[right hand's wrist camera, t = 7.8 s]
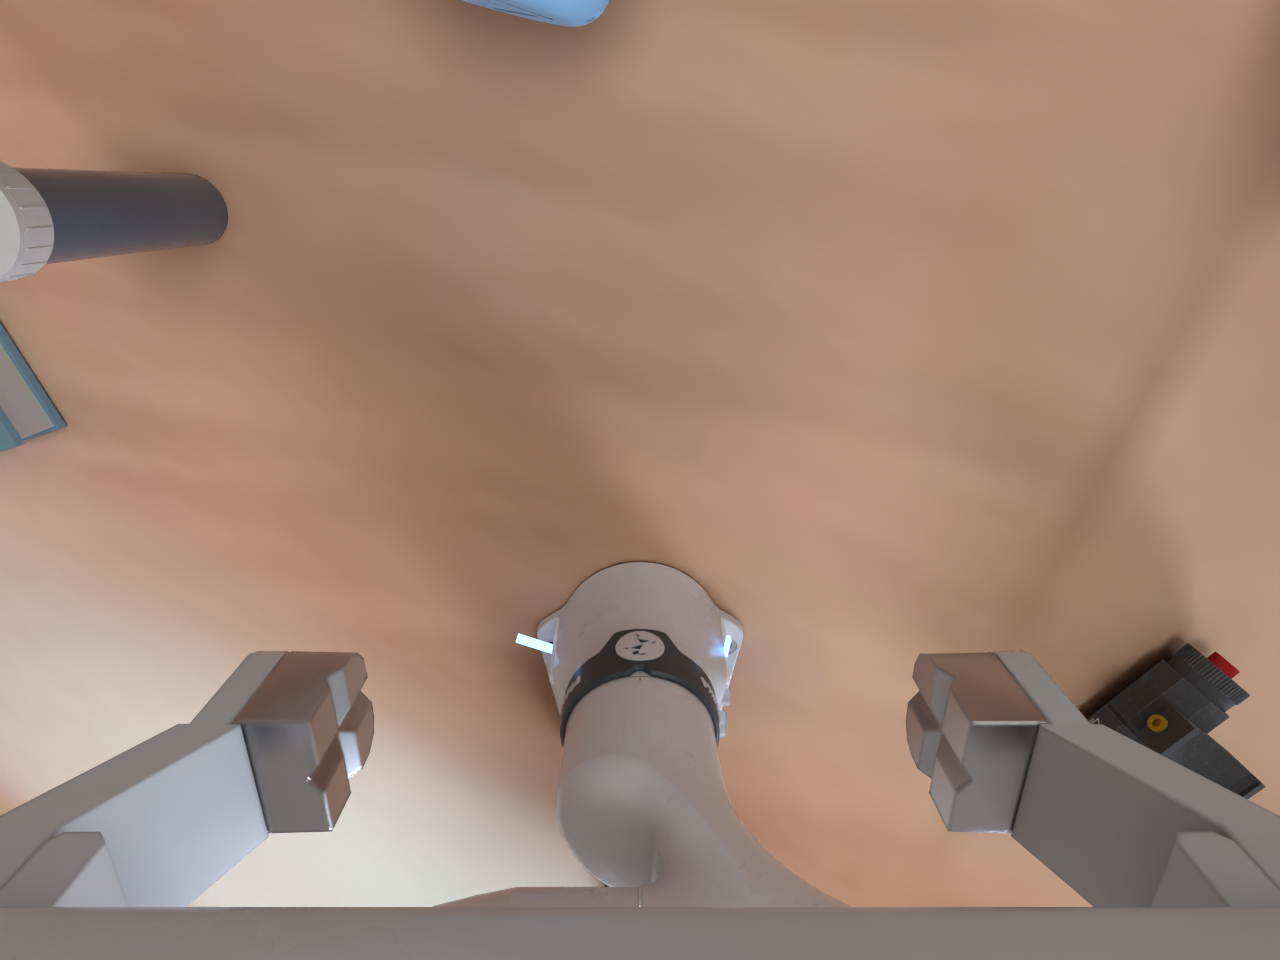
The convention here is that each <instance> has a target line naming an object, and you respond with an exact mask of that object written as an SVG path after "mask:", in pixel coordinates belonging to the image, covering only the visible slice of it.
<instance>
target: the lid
mask: <svg viewBox="0 0 1280 960" xmlns="http://www.w3.org/2000/svg"><path fill="white" fill-rule="evenodd" d="M53 245H54V227H53V222H52V218H51V215H50V212H49V210H48V207H47V205H46V203H45V202H44V200H43V198H42V197H41V195H40V194H39V192H38V191H37V190H36V188H35V187H34V186H33V185H32V184H31V183H30V182H29V181H28V180H27V179H26V178H25V177H24V176H23V175H22V174H21V173H19V172H18V171H17V170H15V169H13V168H12V167H10V166H9V165H7V164H5V163H3V162H1V161H0V282H4V281H11V280H18V278H20V277H25V276H29V275H34V273H35V272H36V271H38V270H39V269H40V268H41V267H42V266H43V265H44V264H46V263H47V260H48V259H49V257H50V255H51V252H52V249H53Z"/></svg>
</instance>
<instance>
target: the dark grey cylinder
mask: <svg viewBox="0 0 1280 960" xmlns="http://www.w3.org/2000/svg"><path fill="white" fill-rule="evenodd" d="M13 169H15V170H17V171H18V172H19V173H21V174H22V175H23V176H24V177H25V178H26V179H27V180H28V181H29V182H30V183H31V184H32V185H33V186H34V187H35V188H36V190H37V191H38V192H39V194H40V195H41V197H42V198H43V200H44V202H45V203H46V205H47V207H48V210H49V212H50V215H51V218H52V222H53V227H54V245H53V249H52V252H51V255H50V257H49V259H48V260H47V263H46V264H52V263H60V262H68V261H76V260H84V259H92V258H100V257H108V256H116V255H124V254H132V253H140V252H148V251H156V250H164V249H172V248H180V247H188V246H196V245H204V244H209V243H212V242H214V241H216V240H217V239H218V238H219V237H220V236H221V235H222V234H223V232H224V230H225V228H226V225H227V209H226V205H225V202H224V200H223V198H222V196H221V195H220V193H219V192H218V190H217V189H216V188H215V187H214V186H213V185H212V184H211V183H209V182H208V181H207V180H205V179H203V178H201V177H199V176H196V175H192V174H178V173H150V172H122V171H94V170H66V169H38V168H13Z"/></svg>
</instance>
